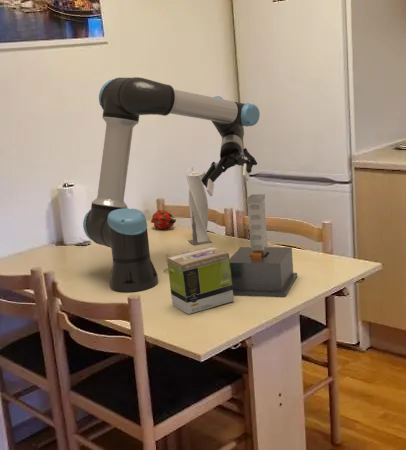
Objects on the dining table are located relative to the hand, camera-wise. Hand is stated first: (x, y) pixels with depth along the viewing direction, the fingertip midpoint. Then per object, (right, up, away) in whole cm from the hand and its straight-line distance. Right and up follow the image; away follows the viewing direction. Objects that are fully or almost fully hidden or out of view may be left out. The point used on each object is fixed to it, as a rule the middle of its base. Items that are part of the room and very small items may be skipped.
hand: (227, 185), depth 229 cm
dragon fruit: (-24, -15, +58) cm, 64 cm away
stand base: (+10, -31, -20) cm, 38 cm away
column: (+9, -29, -20) cm, 37 cm away
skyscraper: (-9, -19, +35) cm, 41 cm away
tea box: (-8, -35, -30) cm, 47 cm away
